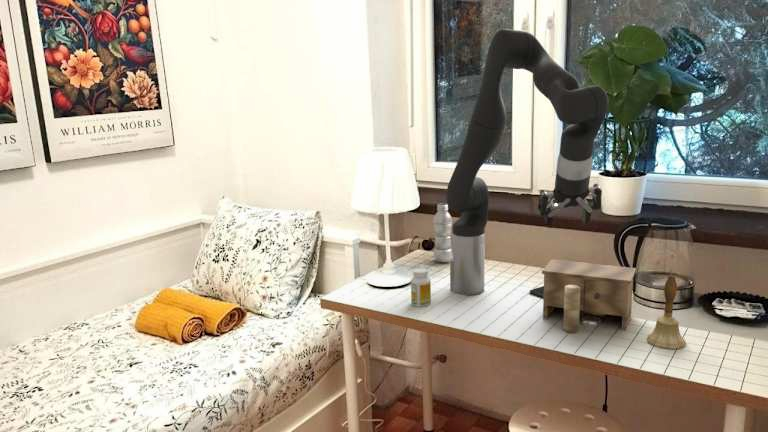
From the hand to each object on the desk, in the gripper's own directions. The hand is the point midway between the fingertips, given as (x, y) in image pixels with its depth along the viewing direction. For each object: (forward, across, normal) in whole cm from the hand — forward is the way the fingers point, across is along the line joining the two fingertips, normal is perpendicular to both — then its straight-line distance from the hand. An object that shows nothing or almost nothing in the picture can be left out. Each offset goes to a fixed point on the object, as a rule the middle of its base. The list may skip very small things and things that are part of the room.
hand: (566, 223), depth 148 cm
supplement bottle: (+27, +37, -4) cm, 46 cm away
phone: (+31, -2, -4) cm, 32 cm away
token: (+23, -4, +13) cm, 26 cm away
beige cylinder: (+22, -2, +12) cm, 26 cm away
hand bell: (+18, -17, +25) cm, 35 cm away
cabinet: (+24, -5, +10) cm, 26 cm away
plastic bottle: (+46, +26, -39) cm, 66 cm away
